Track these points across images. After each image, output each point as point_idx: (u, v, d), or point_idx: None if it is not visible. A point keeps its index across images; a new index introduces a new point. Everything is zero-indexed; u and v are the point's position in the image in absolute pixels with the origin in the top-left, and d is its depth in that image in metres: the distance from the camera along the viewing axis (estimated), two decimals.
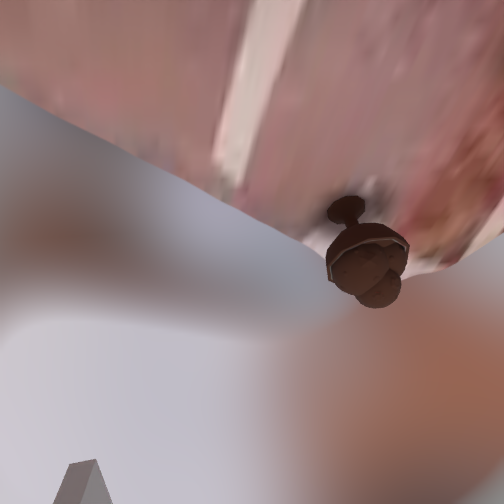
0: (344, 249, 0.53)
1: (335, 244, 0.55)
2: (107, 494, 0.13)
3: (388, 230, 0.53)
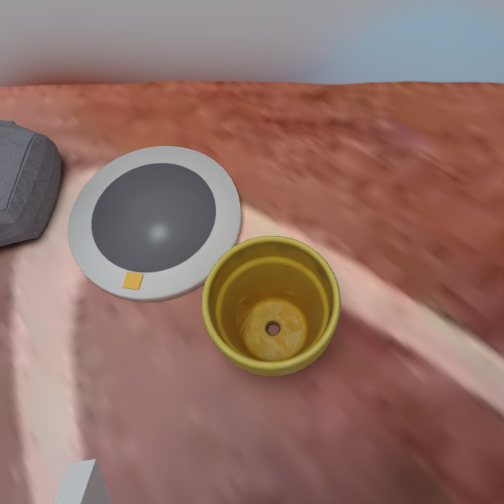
0: None
1: None
2: (107, 494, 0.13)
3: None
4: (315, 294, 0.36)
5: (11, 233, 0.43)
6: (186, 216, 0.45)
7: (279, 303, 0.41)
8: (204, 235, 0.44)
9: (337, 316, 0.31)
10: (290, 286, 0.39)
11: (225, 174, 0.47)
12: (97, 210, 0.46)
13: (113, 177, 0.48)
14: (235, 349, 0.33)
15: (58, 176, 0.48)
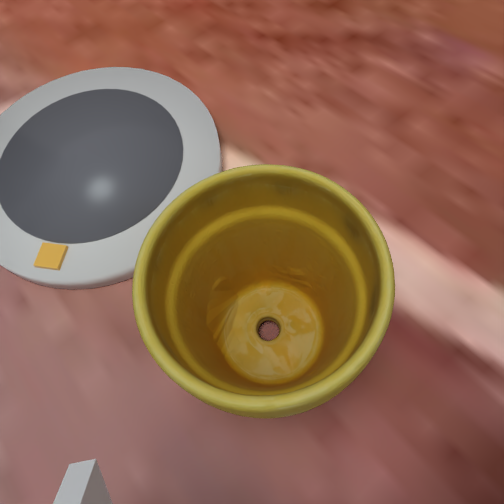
0: None
1: None
2: (107, 494, 0.13)
3: None
4: (339, 269, 0.21)
5: None
6: (138, 161, 0.30)
7: (278, 289, 0.26)
8: (164, 187, 0.29)
9: (390, 305, 0.16)
10: (296, 259, 0.24)
11: (198, 102, 0.32)
12: (7, 154, 0.31)
13: (36, 109, 0.33)
14: (198, 367, 0.18)
15: None
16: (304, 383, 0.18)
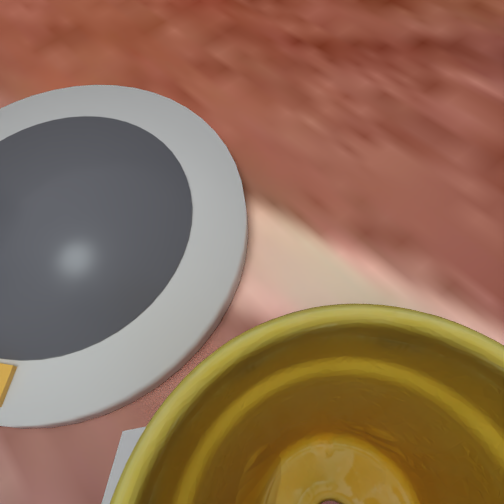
0: None
1: None
2: None
3: None
4: (487, 480, 0.11)
5: None
6: (126, 226, 0.20)
7: (345, 447, 0.16)
8: (164, 270, 0.19)
9: None
10: (385, 421, 0.14)
11: (214, 137, 0.22)
12: None
13: None
14: None
15: None
16: None
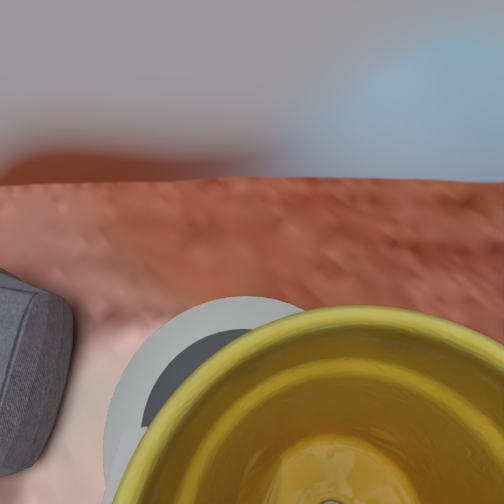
0: None
1: None
2: None
3: None
4: (488, 481, 0.11)
5: None
6: None
7: (346, 448, 0.16)
8: None
9: None
10: (386, 423, 0.14)
11: None
12: (148, 419, 0.28)
13: (169, 353, 0.30)
14: None
15: (69, 346, 0.31)
16: None
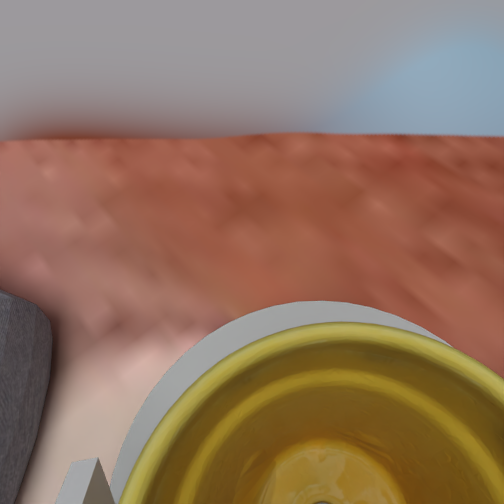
0: None
1: None
2: (109, 492, 0.13)
3: None
4: (467, 484, 0.12)
5: None
6: None
7: (337, 452, 0.17)
8: None
9: None
10: (374, 428, 0.15)
11: None
12: None
13: None
14: None
15: (43, 380, 0.20)
16: None
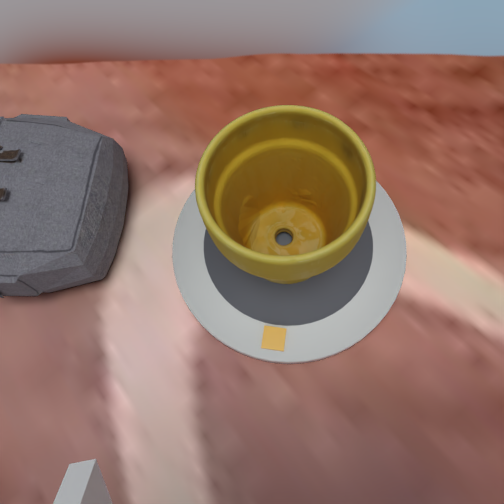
0: None
1: None
2: (107, 494, 0.13)
3: None
4: (338, 185, 0.28)
5: (76, 277, 0.32)
6: None
7: (291, 208, 0.33)
8: (362, 272, 0.32)
9: (372, 198, 0.24)
10: (305, 182, 0.31)
11: None
12: (209, 236, 0.34)
13: None
14: None
15: (127, 191, 0.37)
16: None
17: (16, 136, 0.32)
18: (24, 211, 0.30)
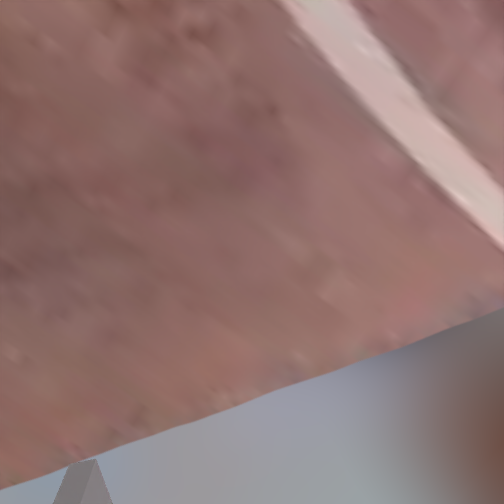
0: None
1: None
2: (107, 494, 0.13)
3: None
4: None
5: None
6: None
7: None
8: None
9: None
10: None
11: None
12: None
13: None
14: None
15: None
16: None
17: None
18: None
